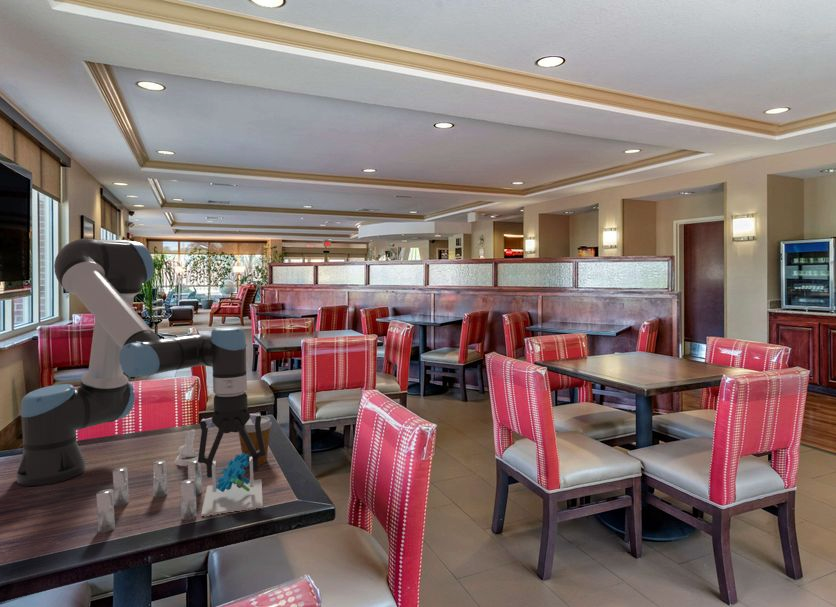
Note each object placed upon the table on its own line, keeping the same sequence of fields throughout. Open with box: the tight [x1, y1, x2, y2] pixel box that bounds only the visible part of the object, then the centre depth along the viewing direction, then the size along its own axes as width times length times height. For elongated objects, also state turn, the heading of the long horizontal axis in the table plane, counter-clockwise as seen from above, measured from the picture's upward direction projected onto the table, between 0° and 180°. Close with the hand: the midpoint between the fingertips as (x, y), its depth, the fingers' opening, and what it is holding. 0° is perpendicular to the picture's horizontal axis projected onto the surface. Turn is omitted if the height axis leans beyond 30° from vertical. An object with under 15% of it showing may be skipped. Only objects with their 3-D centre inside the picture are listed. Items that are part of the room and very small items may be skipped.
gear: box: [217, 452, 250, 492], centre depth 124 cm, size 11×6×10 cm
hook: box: [174, 429, 199, 467], centre depth 146 cm, size 8×12×7 cm
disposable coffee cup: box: [238, 415, 272, 467], centre depth 146 cm, size 10×10×12 cm
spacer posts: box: [96, 459, 203, 534], centre depth 118 cm, size 19×18×8 cm
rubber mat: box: [200, 478, 264, 517], centre depth 123 cm, size 13×16×1 cm
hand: (233, 487), depth 123 cm, fingers closed on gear, 8 cm apart
